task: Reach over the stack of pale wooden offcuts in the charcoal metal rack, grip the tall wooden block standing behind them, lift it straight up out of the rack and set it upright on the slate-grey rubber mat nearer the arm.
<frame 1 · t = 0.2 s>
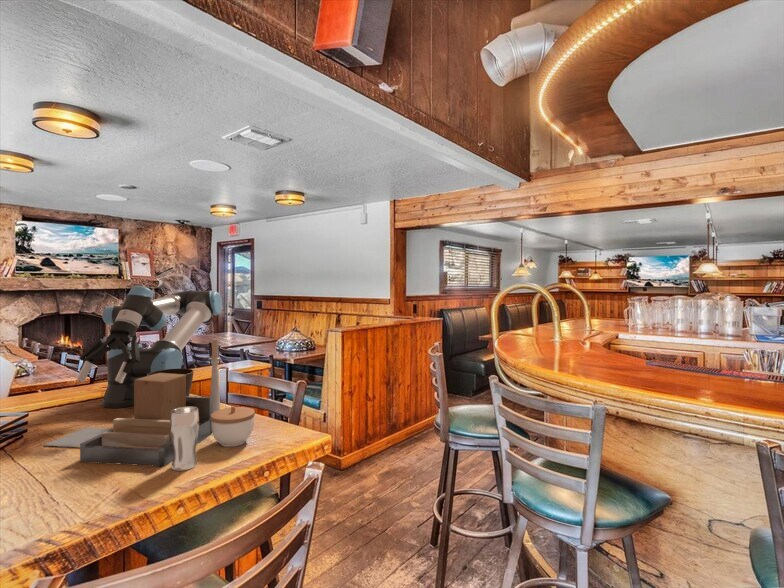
hand: (99, 381, 134), 16 cm above the table, tool tilted 35°, fingers open, 13 cm apart
lidded bowl: (233, 443, 125), on the table
offcut stack: (135, 439, 114), resting in rack
candlestick: (214, 424, 141), on the table
rack: (152, 446, 121), on the table
wooden block: (160, 442, 125), resting in rack
beer glass: (184, 466, 108), on the table
mat: (88, 437, 127), on the table
plant pot: (170, 416, 149), on the table
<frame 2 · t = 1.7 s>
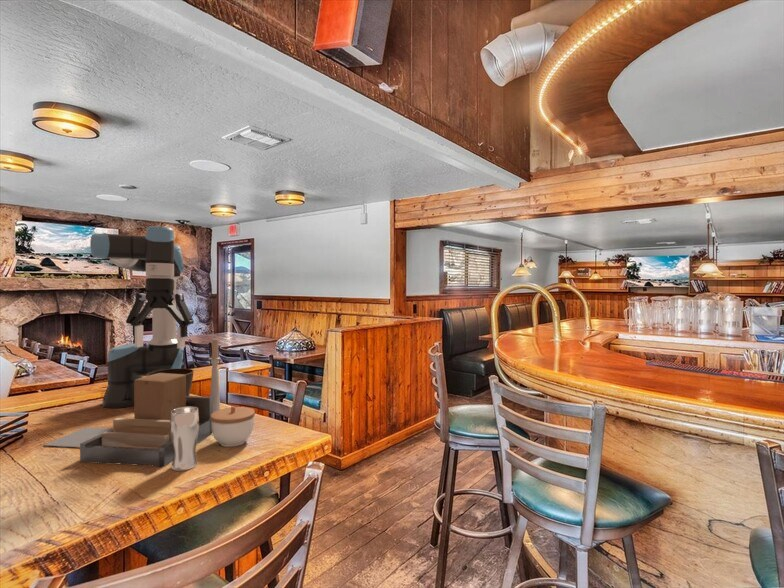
hand: (160, 347, 124), 29 cm above the table, tool pointing down, fingers open, 13 cm apart
nothing on the table moved.
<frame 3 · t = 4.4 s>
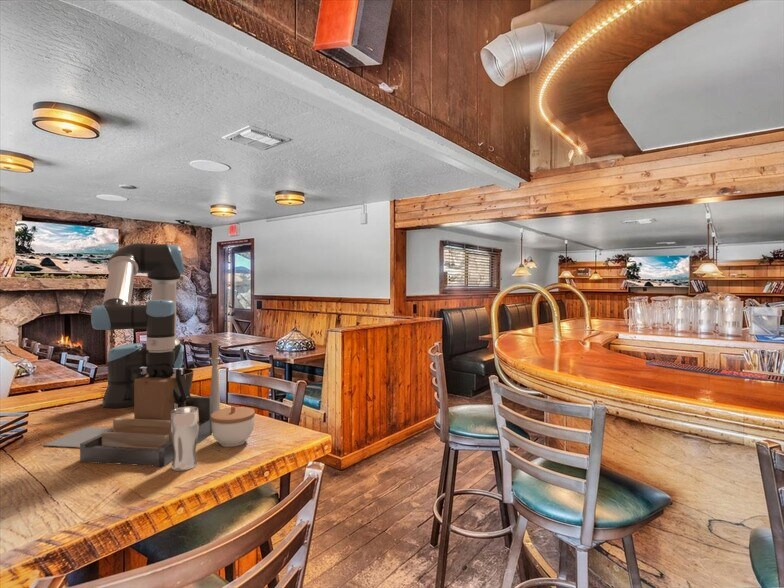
hand: (160, 422, 124), 6 cm above the table, tool pointing down, fingers closed on wooden block, 10 cm apart
wooden block: (160, 442, 125), resting in rack, touching gripper
everything else where it was.
when the fingers open (8 cm above the table, at t = 14.2 s): wooden block drops 2 cm, resting on mat.
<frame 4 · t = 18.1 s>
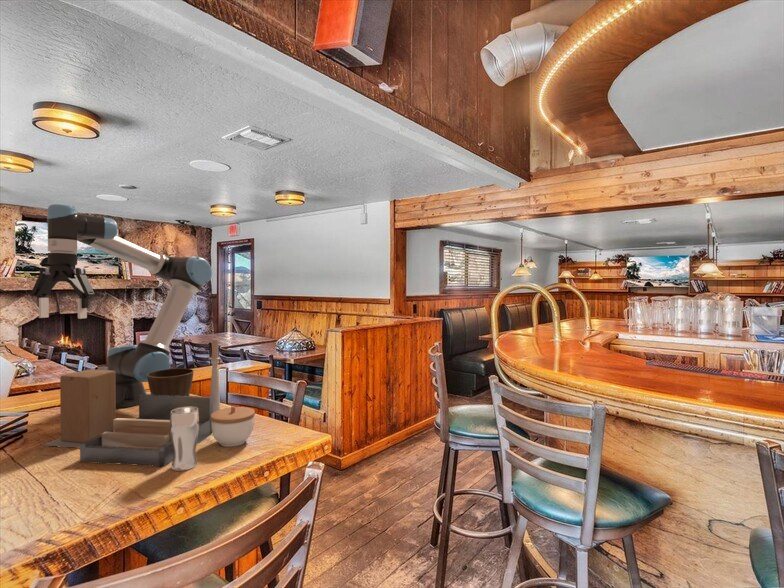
hand: (63, 318, 133), 37 cm above the table, tool pointing down, fingers open, 13 cm apart
wooden block: (88, 437, 127), resting on mat
everything else where it was.
at the end: wooden block inside the target area on the mat (0.3 cm from its centre), point 0.2 cm above the mat's base; wooden block tilted 0°; the gripper is holding nothing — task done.
